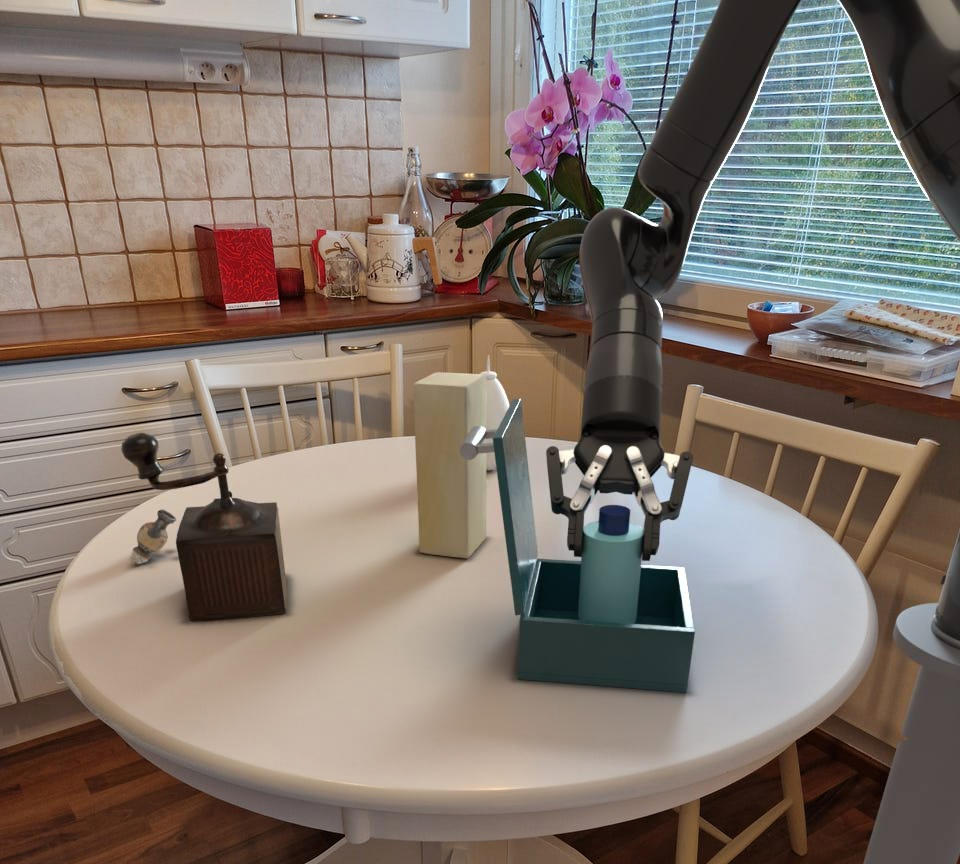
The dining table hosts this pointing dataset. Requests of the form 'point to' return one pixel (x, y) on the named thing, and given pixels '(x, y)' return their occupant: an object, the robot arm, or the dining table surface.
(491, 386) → the sauce bottle
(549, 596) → the teal open box
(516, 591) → the teal box lid
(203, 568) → the manual coffee grinder
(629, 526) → the water bottle
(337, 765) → the dining table surface
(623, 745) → the dining table surface
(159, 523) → the vase
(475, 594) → the dining table surface
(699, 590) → the dining table surface
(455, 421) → the toy refrigerator
